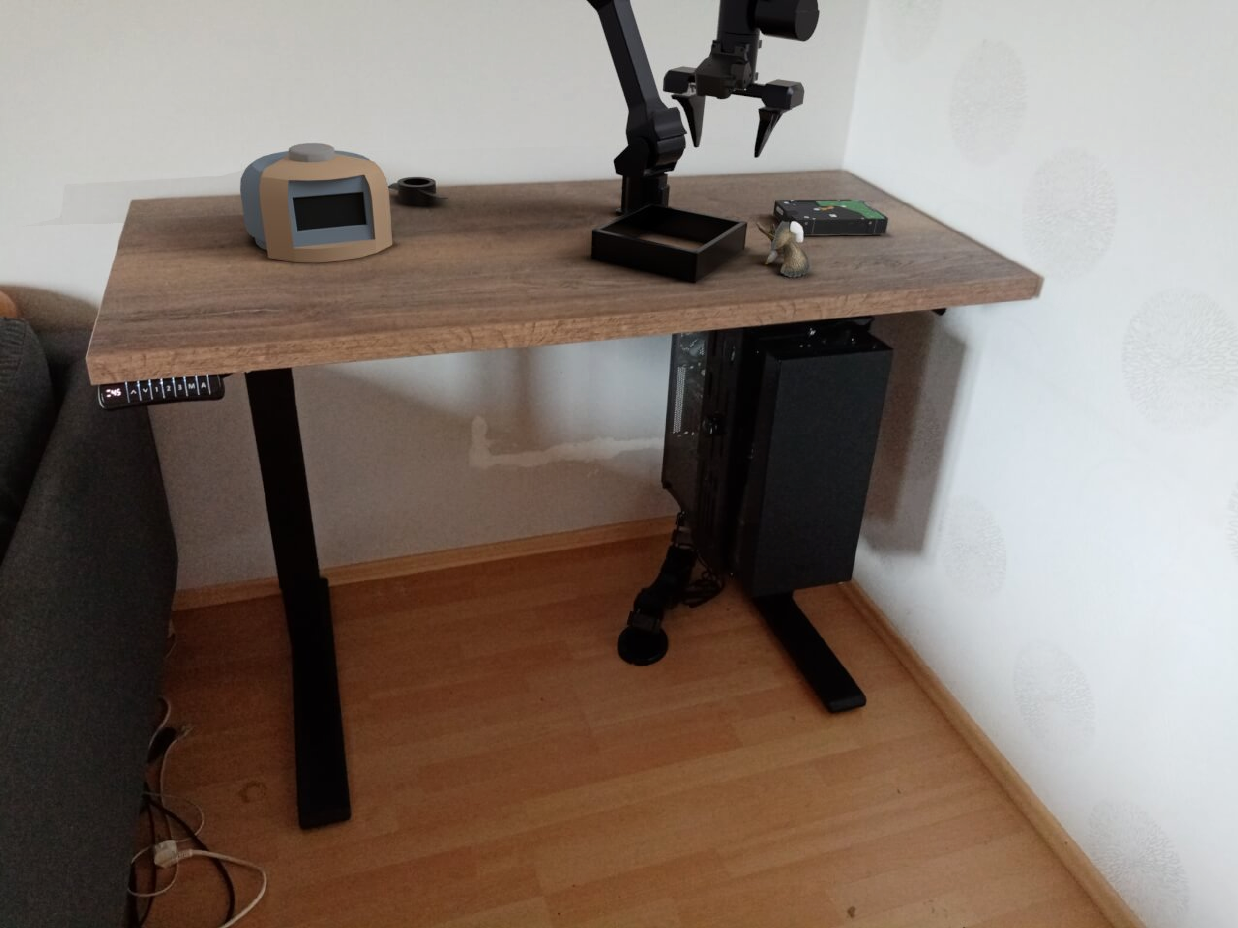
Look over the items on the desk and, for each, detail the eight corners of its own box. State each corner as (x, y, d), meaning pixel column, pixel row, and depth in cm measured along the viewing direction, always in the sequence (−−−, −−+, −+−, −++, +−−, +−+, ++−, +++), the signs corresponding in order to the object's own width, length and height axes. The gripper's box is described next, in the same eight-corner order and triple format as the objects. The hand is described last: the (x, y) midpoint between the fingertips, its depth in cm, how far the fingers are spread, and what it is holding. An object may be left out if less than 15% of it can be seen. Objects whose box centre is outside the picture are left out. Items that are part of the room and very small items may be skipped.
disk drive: (794, 238, 145) (887, 235, 147) (796, 219, 143) (890, 217, 146) (771, 217, 153) (859, 215, 156) (773, 199, 152) (862, 197, 155)
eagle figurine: (739, 247, 136) (758, 256, 127) (769, 202, 134) (790, 209, 126) (780, 276, 138) (802, 288, 130) (810, 233, 137) (834, 242, 128)
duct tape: (434, 190, 156) (433, 172, 155) (450, 208, 149) (449, 189, 147) (385, 193, 154) (384, 175, 152) (400, 211, 146) (398, 192, 144)
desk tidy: (590, 259, 132) (591, 230, 130) (646, 229, 144) (648, 202, 142) (695, 283, 126) (697, 253, 124) (744, 249, 138) (747, 222, 136)
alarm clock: (262, 269, 122) (248, 171, 116) (235, 223, 137) (222, 134, 131) (411, 252, 130) (405, 160, 124) (370, 211, 145) (363, 127, 139)
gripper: (648, 29, 127) (641, 152, 135) (783, 46, 120) (767, 174, 128) (684, 22, 135) (676, 138, 143) (813, 37, 128) (796, 158, 136)
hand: (726, 152), depth 137 cm, fingers open, 9 cm apart
